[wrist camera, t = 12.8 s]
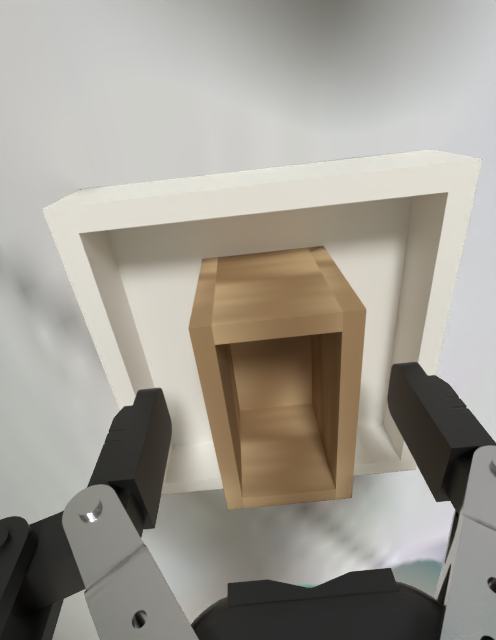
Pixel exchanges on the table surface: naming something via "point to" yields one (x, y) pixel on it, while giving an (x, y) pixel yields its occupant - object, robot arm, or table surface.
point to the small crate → (279, 374)
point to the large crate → (264, 236)
